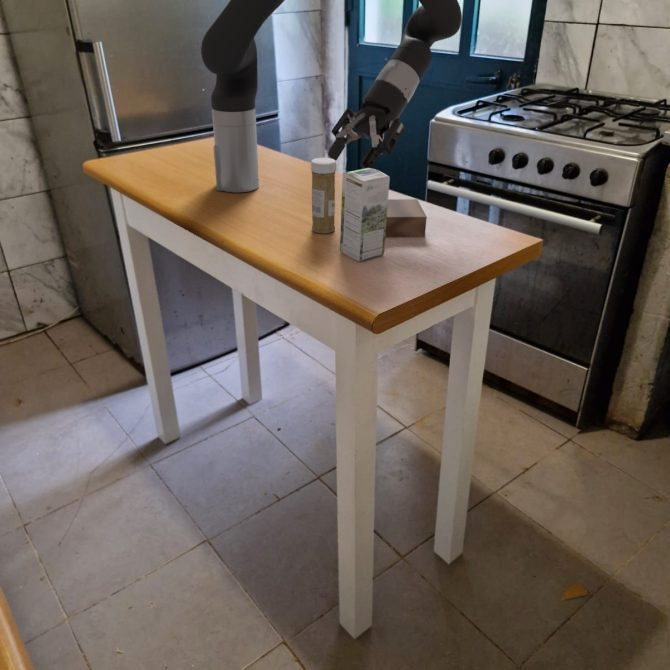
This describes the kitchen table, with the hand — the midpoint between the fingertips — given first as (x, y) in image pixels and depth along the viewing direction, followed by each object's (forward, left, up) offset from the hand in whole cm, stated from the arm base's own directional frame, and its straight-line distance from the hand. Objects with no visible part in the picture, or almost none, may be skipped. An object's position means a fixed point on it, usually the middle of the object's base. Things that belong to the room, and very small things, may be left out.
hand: (347, 163), depth 118 cm
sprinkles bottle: (-5, -4, -12) cm, 13 cm away
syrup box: (+2, -16, -12) cm, 20 cm away
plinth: (+9, -3, -12) cm, 15 cm away
